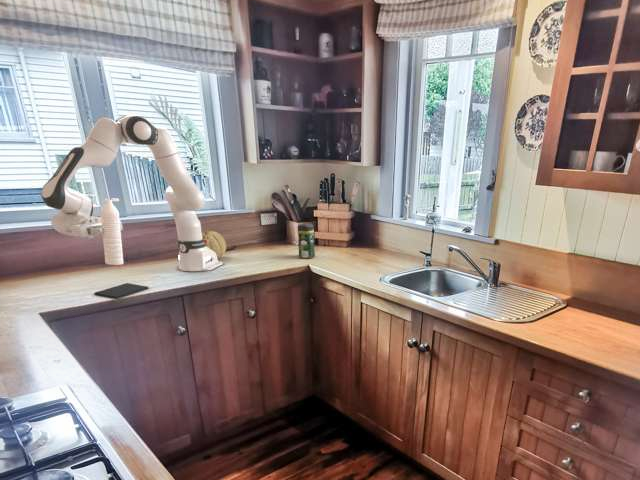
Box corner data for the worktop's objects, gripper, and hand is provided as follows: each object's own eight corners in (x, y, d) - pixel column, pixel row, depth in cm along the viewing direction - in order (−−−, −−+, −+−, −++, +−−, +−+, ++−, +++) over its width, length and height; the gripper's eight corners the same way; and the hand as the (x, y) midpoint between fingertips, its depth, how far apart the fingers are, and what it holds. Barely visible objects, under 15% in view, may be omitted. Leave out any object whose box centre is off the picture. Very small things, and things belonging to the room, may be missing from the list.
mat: (127, 284, 203) (127, 283, 202) (148, 288, 199) (148, 286, 198) (95, 294, 189) (94, 292, 189) (116, 298, 185) (116, 296, 185)
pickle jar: (303, 254, 266) (302, 221, 258) (316, 255, 264) (315, 222, 256) (296, 258, 258) (295, 223, 250) (309, 259, 256) (308, 225, 248)
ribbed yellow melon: (231, 256, 256) (228, 229, 250) (221, 262, 243) (218, 233, 237) (204, 255, 257) (201, 227, 251) (193, 261, 243) (190, 232, 237)
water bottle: (117, 266, 185) (110, 200, 175) (101, 263, 185) (94, 198, 176) (130, 262, 193) (125, 199, 183) (115, 260, 193) (109, 197, 184)
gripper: (59, 222, 177) (85, 225, 173) (105, 215, 195) (130, 218, 190) (63, 238, 180) (89, 242, 176) (108, 231, 197) (133, 234, 193)
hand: (111, 230), depth 183 cm, fingers closed on water bottle, 6 cm apart
